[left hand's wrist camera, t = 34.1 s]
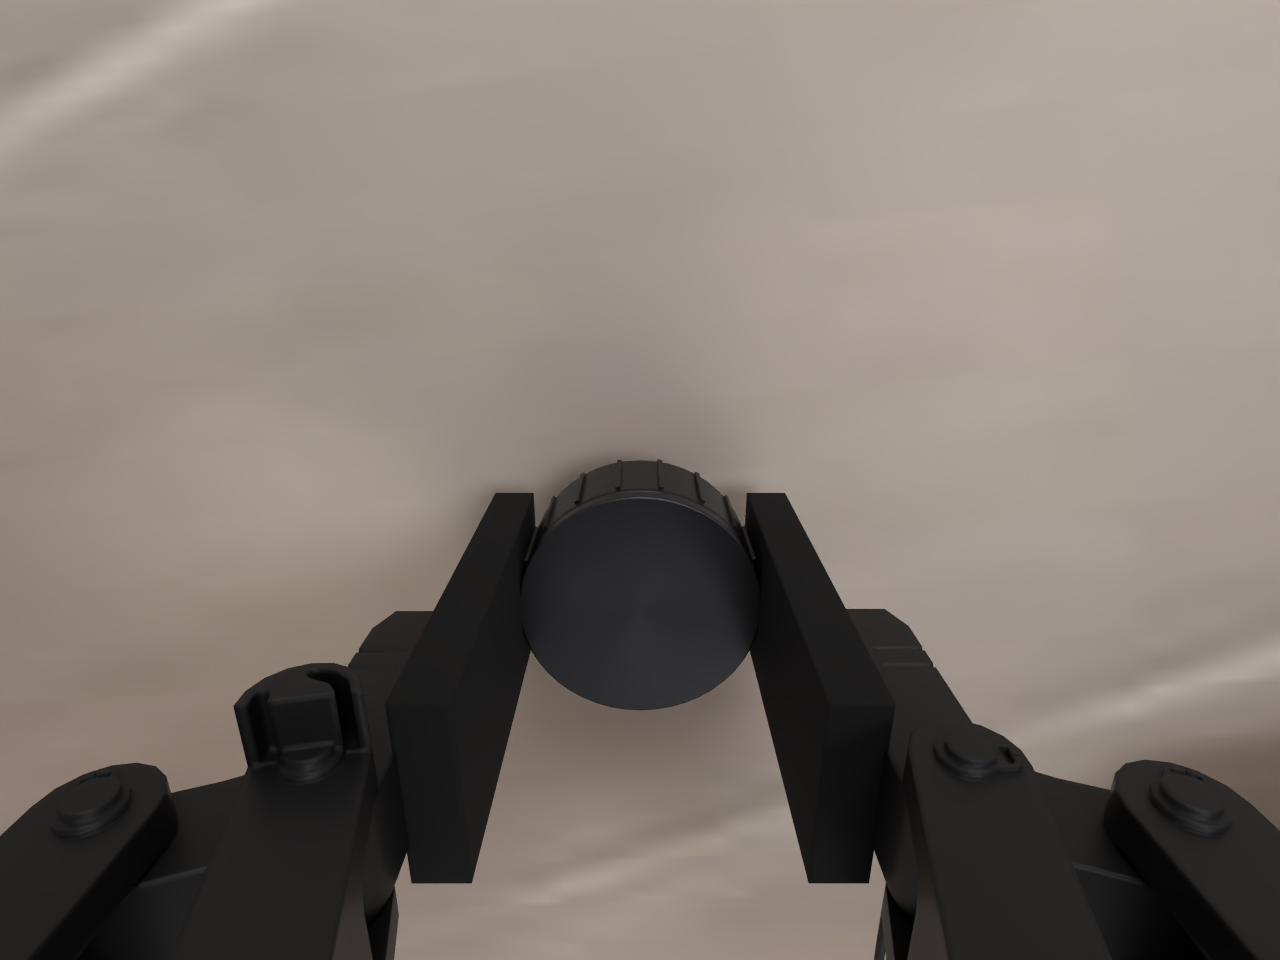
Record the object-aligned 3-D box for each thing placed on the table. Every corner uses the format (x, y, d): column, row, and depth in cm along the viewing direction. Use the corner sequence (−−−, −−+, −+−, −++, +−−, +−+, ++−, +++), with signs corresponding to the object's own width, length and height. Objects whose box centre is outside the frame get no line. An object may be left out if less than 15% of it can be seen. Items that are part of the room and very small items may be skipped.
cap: (744, 651, 15) (759, 711, 13) (537, 652, 15) (522, 712, 13) (754, 456, 14) (773, 494, 12) (524, 458, 14) (506, 495, 12)
